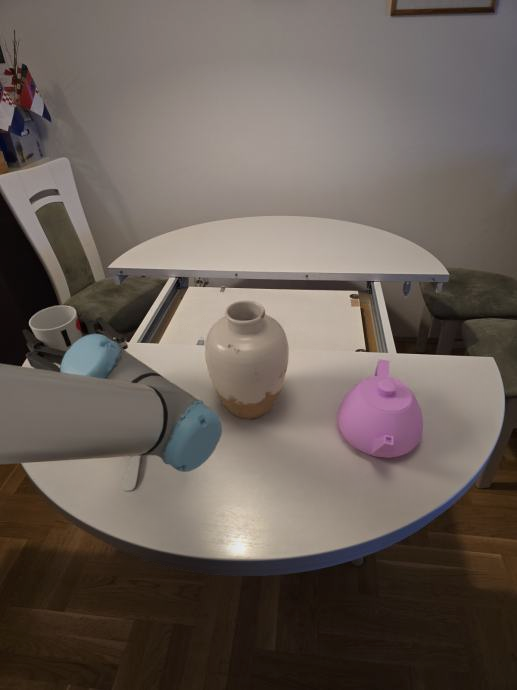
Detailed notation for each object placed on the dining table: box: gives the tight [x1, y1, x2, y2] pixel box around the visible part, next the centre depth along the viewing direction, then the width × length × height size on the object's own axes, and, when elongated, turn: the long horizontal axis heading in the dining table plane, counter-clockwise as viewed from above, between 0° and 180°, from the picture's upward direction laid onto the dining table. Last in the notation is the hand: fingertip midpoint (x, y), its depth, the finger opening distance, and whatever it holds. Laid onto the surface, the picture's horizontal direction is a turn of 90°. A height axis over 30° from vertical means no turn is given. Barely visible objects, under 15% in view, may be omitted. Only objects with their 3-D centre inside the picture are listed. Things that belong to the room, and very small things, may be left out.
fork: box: [121, 456, 142, 492], centre depth 77 cm, size 3×21×3 cm, turn 179°
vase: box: [204, 300, 290, 420], centre depth 78 cm, size 16×16×23 cm
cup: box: [28, 304, 83, 368], centre depth 77 cm, size 8×8×10 cm
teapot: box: [336, 358, 424, 459], centre depth 74 cm, size 22×16×12 cm
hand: (47, 325), depth 79 cm, fingers closed on cup, 8 cm apart
